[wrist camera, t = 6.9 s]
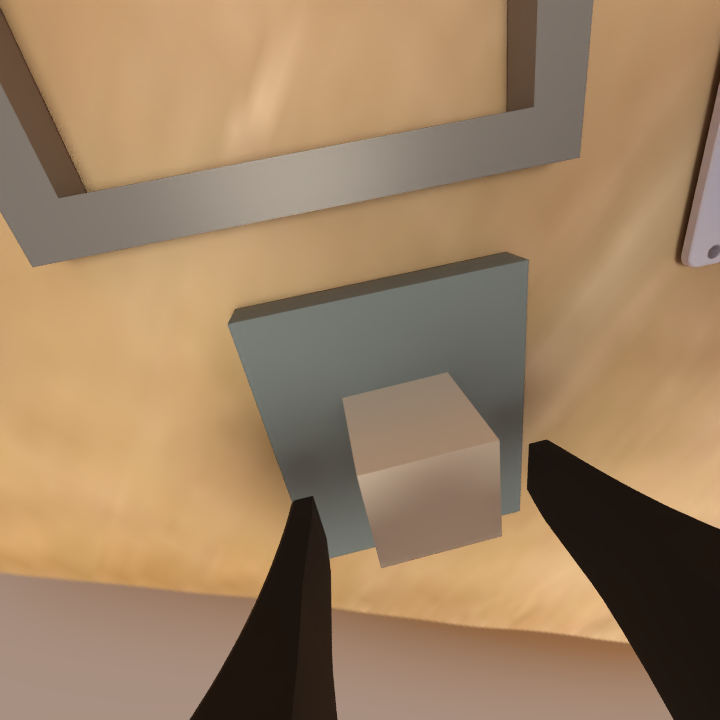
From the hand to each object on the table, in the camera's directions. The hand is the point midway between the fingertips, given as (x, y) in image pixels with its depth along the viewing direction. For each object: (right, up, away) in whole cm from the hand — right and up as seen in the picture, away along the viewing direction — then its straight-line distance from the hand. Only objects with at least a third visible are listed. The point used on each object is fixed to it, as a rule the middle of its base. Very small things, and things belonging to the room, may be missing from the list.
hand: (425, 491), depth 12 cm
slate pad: (-1, +2, +4) cm, 4 cm away
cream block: (0, +2, +2) cm, 3 cm away
